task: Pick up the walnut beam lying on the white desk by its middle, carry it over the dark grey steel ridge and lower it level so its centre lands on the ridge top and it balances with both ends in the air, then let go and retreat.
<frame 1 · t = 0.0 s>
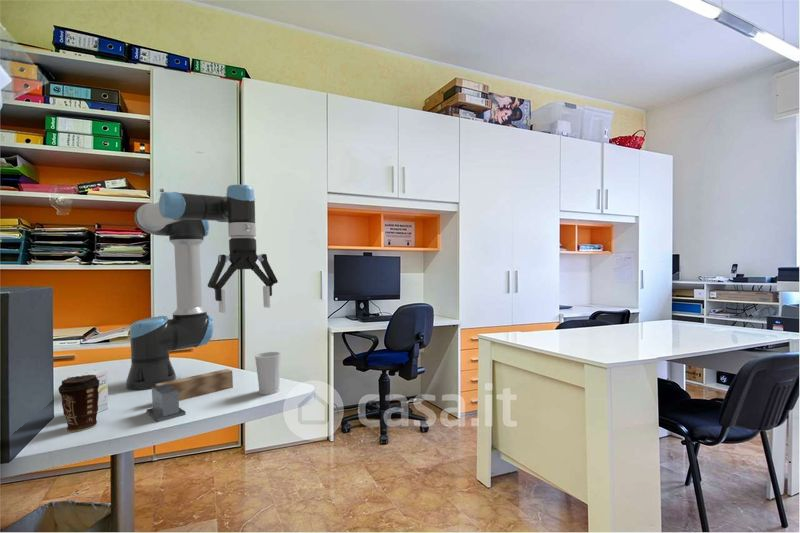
hand: (245, 309, 122), 28 cm above the table, fingers open, 13 cm apart
cup: (269, 391, 133), on the table
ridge: (165, 413, 116), on the table
walnut beam: (196, 395, 133), on the table
ink box: (88, 414, 118), on the table
coffee cup: (82, 427, 108), on the table
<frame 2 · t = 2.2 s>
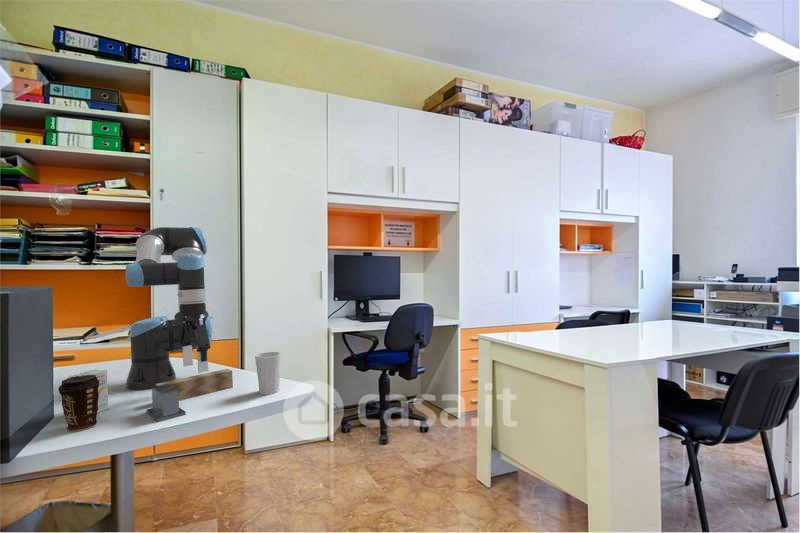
hand: (195, 368, 132), 8 cm above the table, fingers open, 13 cm apart
nothing on the table moved.
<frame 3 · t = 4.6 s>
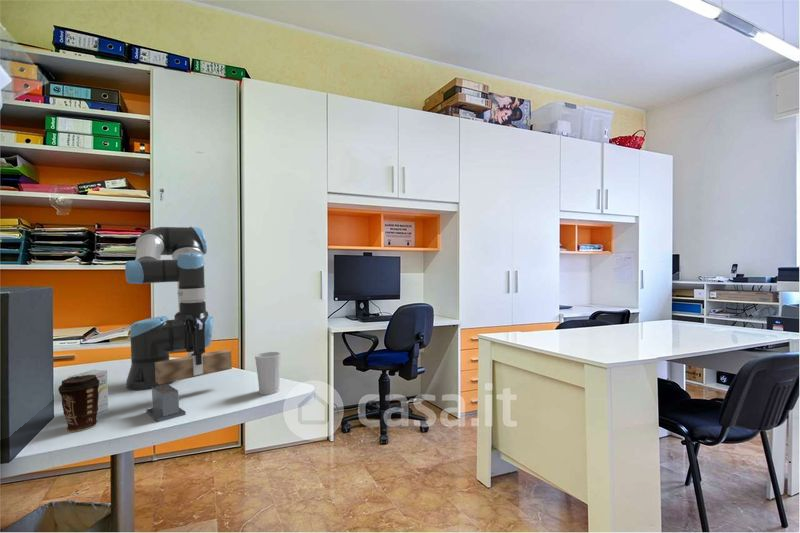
hand: (195, 372, 133), 7 cm above the table, fingers closed on walnut beam, 4 cm apart
walnut beam: (195, 374, 133), point 6 cm above the table, touching gripper
everything else where it was.
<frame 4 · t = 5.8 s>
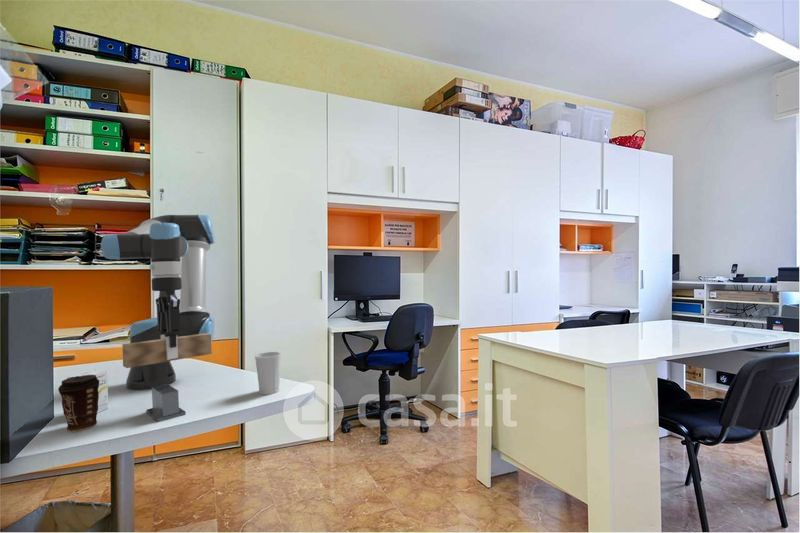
hand: (169, 357, 118), 15 cm above the table, fingers closed on walnut beam, 4 cm apart
walnut beam: (169, 359, 118), point 15 cm above the table, touching gripper
everything else where it was.
when the fingers open (8 cm above the table, at t = 7.1 s): walnut beam stays where it is, resting on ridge.
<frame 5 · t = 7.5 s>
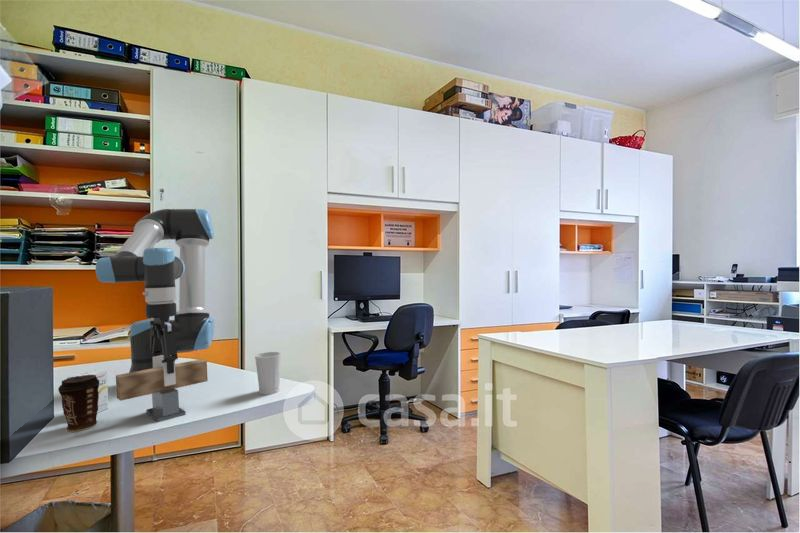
hand: (164, 381, 116), 9 cm above the table, fingers open, 9 cm apart
walnut beam: (164, 388, 116), point 7 cm above the table, touching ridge
everything else where it was.
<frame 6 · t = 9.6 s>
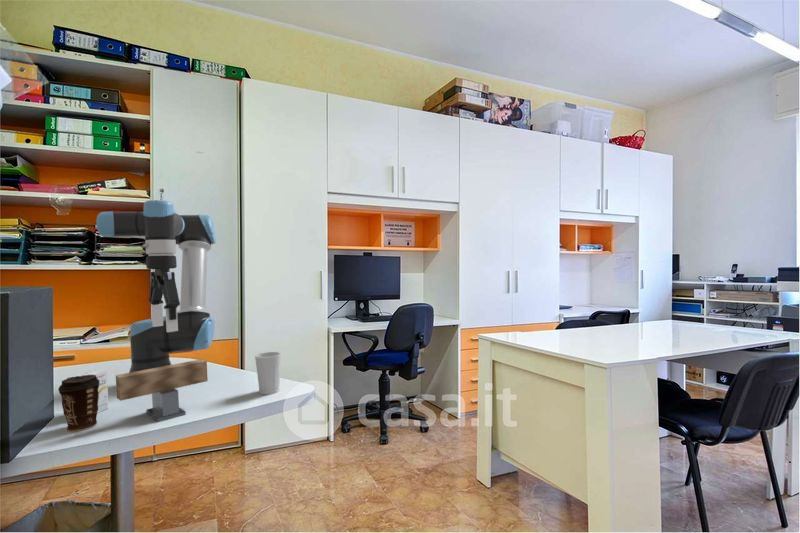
hand: (164, 328, 118), 24 cm above the table, fingers open, 13 cm apart
nothing on the table moved.
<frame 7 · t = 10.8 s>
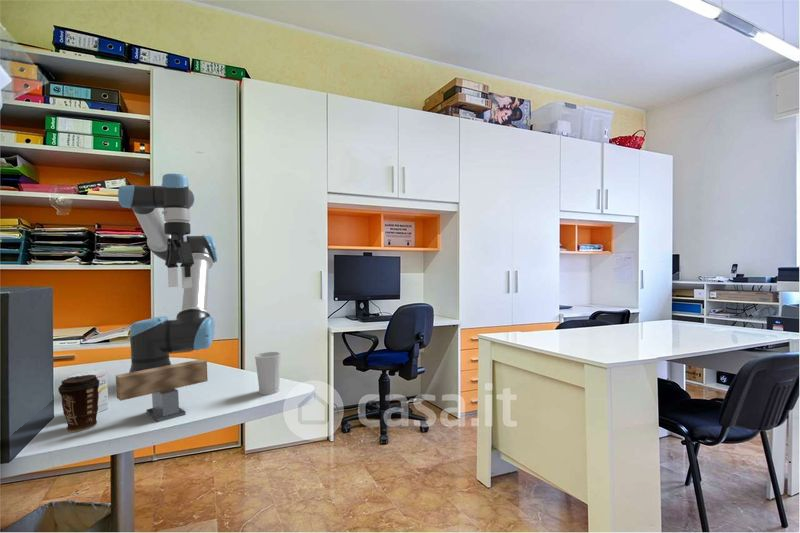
hand: (180, 287, 134), 35 cm above the table, fingers open, 13 cm apart
nothing on the table moved.
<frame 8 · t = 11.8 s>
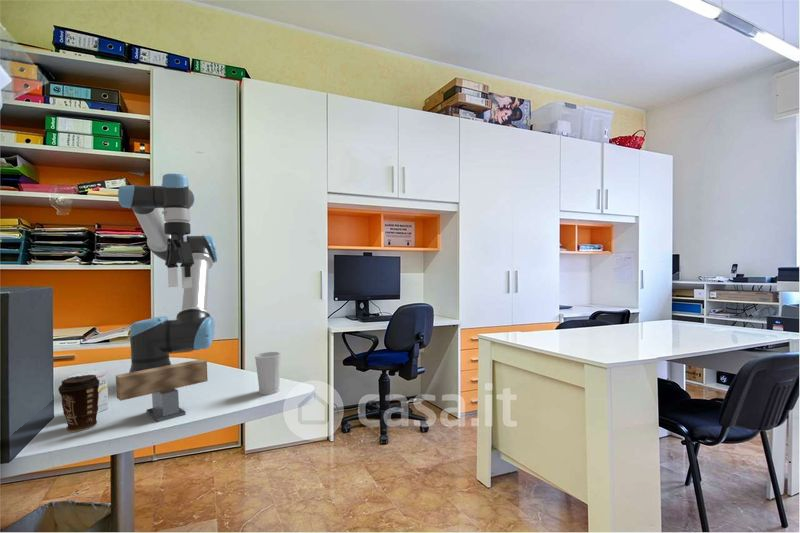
hand: (180, 287, 134), 35 cm above the table, fingers open, 13 cm apart
nothing on the table moved.
at the end: walnut beam 0.0 cm off-centre on the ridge, point 7.0 cm above the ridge's base; walnut beam tilted 0°; walnut beam touching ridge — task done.
